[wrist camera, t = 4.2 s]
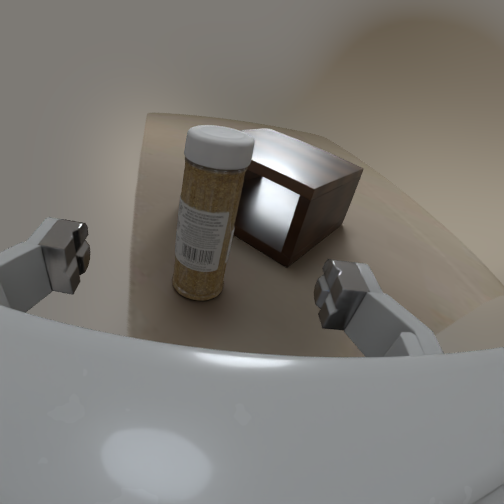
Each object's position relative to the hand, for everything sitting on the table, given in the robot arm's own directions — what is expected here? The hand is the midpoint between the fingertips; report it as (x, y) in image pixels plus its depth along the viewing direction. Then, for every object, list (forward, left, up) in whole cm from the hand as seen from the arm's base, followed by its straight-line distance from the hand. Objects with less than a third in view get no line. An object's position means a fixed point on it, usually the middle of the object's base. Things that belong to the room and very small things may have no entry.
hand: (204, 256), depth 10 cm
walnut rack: (+26, +12, -12) cm, 31 cm away
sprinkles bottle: (+9, +8, -12) cm, 17 cm away
